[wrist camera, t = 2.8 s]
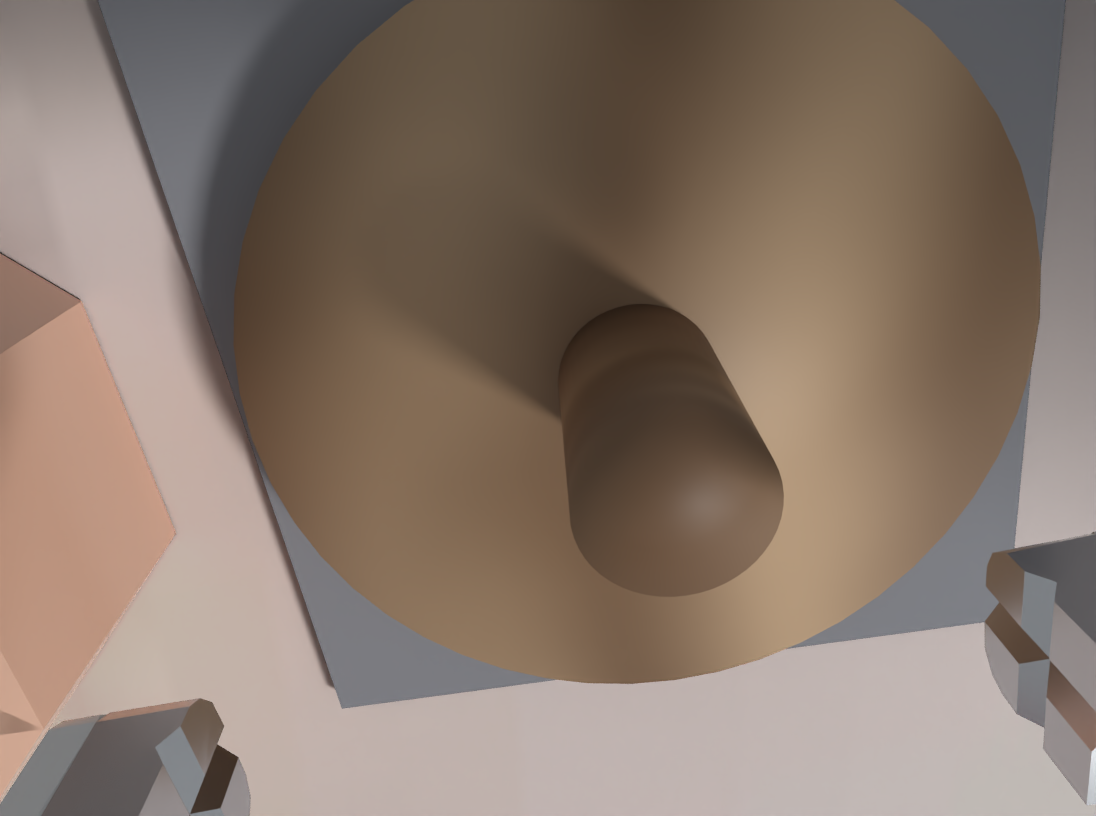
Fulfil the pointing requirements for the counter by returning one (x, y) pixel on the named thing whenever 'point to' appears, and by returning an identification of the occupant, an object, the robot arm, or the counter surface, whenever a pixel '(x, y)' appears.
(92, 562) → the bowl
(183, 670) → the counter surface
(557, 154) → the lid
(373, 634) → the mat
